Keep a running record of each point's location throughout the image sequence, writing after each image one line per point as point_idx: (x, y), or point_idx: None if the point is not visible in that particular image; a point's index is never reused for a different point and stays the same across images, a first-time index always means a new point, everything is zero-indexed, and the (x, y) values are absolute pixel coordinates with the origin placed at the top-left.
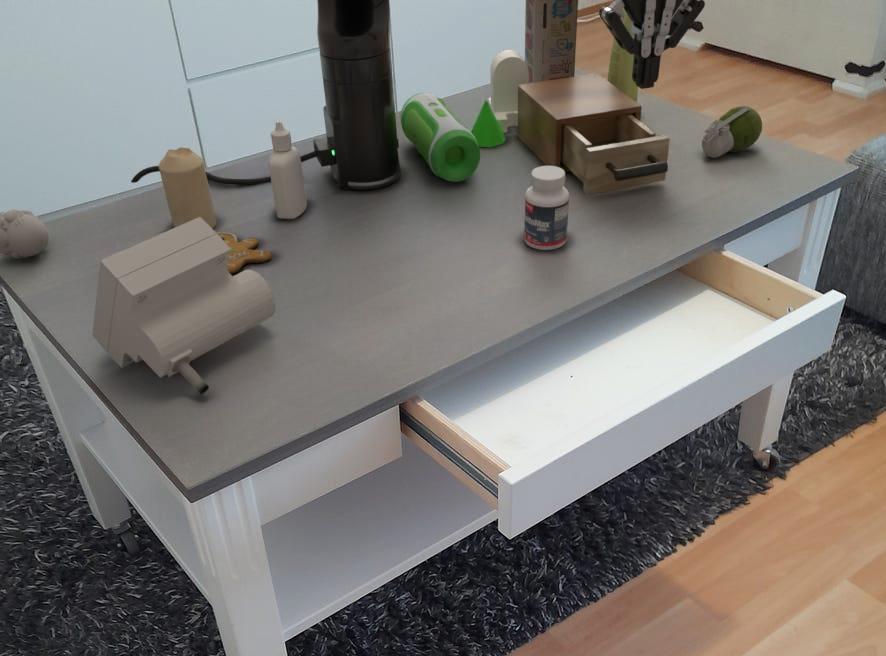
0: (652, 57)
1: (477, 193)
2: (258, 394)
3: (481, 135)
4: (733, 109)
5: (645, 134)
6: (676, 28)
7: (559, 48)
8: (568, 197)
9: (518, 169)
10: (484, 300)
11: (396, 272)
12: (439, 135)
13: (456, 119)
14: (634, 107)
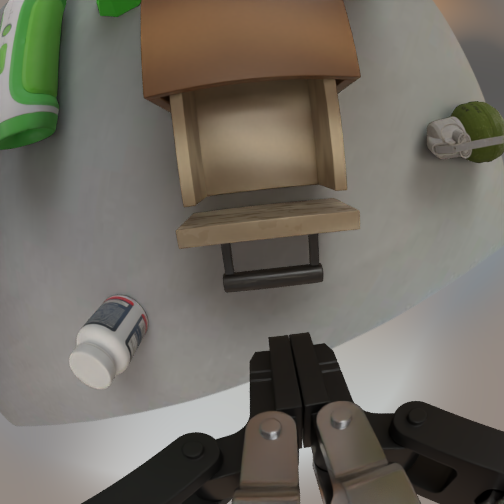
0: (305, 447)
1: (63, 164)
2: (4, 396)
3: (103, 5)
4: (491, 120)
5: (331, 168)
6: (422, 491)
7: None
8: (128, 364)
9: (128, 89)
10: (79, 383)
11: (14, 320)
12: None
13: (13, 72)
14: (343, 76)
